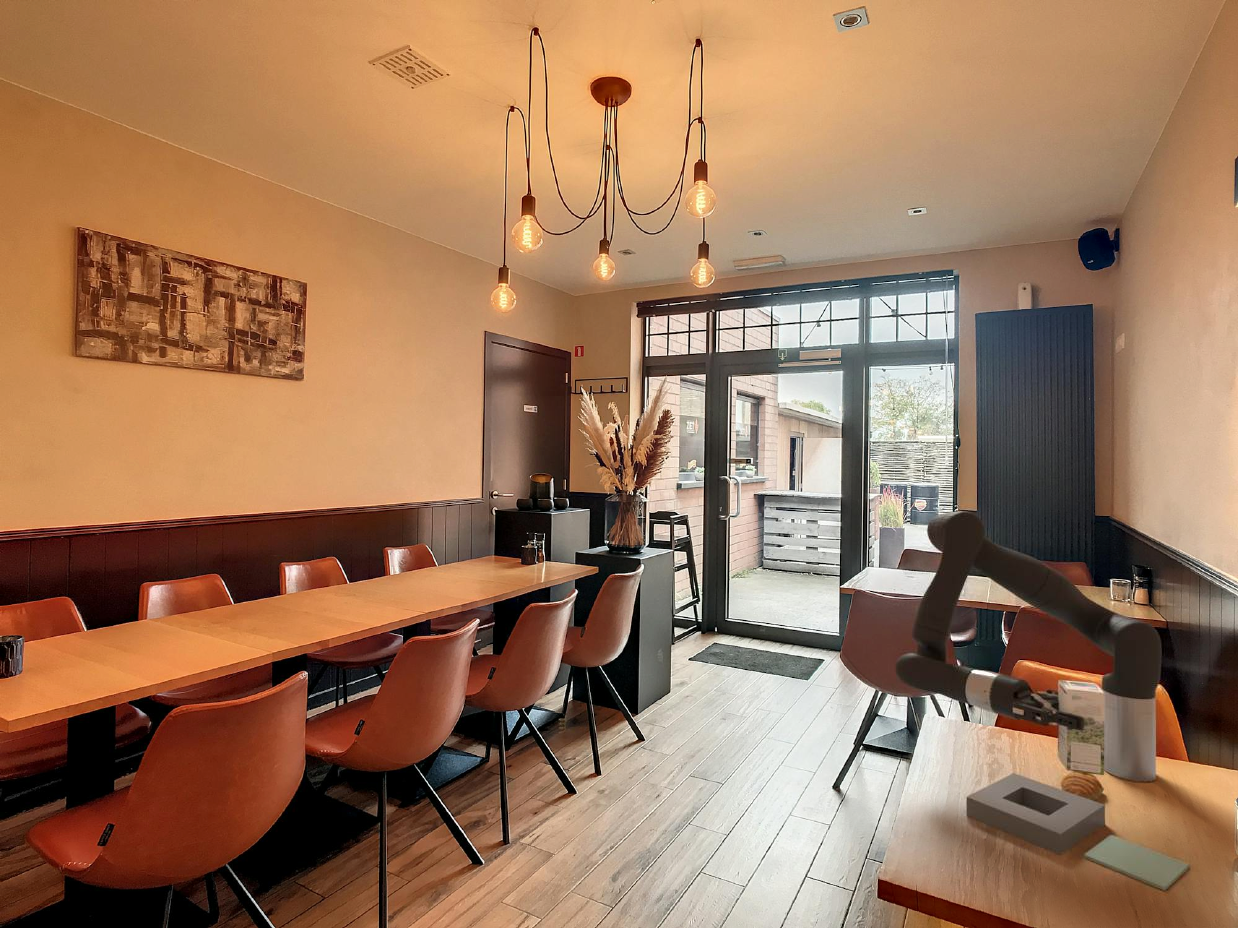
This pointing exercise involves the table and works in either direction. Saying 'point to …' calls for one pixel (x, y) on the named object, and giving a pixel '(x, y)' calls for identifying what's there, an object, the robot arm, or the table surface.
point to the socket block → (1053, 832)
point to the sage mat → (1137, 862)
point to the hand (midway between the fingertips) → (1093, 719)
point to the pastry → (1082, 785)
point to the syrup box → (1089, 743)
